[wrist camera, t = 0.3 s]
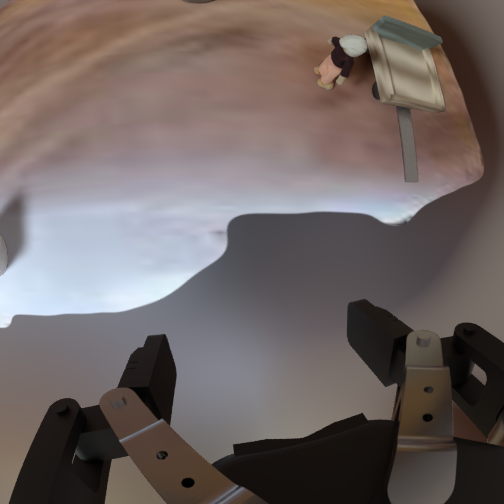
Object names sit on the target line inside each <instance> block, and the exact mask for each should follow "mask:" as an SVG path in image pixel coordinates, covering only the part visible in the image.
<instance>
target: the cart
mask: <svg viewBox="0 0 504 504" xmlns="http://www.w3.org/2000/svg"><path fill="white" fill-rule="evenodd" d="M364 34H365V40H366V42H367V50H366V52H365V53H367V54H370V56H371V60H372V64H373V68H374V72H375V77H376V82H375V83H374V84H373V87H372V93H373V96H374V98H376V99H379V100H380V102H381V103H383V104H390V105H396V106H402V107H407V108H412V109H417V110H422V111H426V112H431V113H439V112H443V111H446V110H445V105H444V100H443V96H442V91H441V87H440V83H439V79H438V75H437V72H436V68H435V65H434V61H433V58H432V55H431V51H430V49H431V48H433V47H435V46H437V45H439V44H441V43H443V42H442V39H441V37H439V36H437V35H435V34H433V33H430V32H428V31H426V30H423V29H421V28H418V27H416V26H413V25H411V24H408V23H405V22H403V21H400V20H397V19H394V18H391V17H388V16H385V15H384V16H383V17H382V18H381V19H379V20H378V21H377V22H376V23H375V24H374V25H372V26H371V27H370V28H369V29H368V30H367V31H366V32H364Z"/></svg>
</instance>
